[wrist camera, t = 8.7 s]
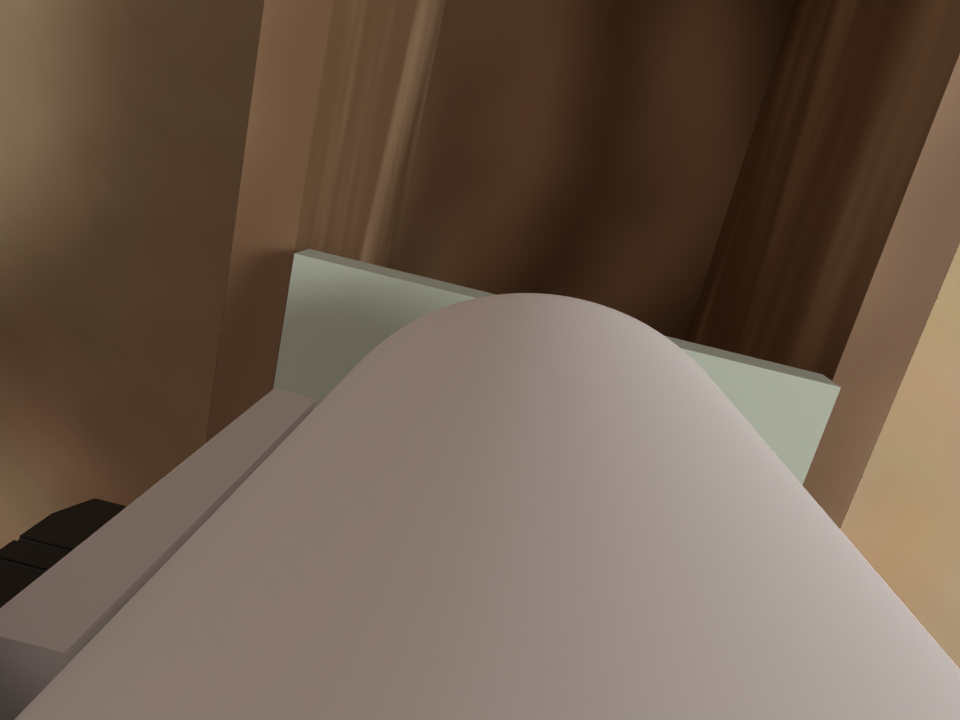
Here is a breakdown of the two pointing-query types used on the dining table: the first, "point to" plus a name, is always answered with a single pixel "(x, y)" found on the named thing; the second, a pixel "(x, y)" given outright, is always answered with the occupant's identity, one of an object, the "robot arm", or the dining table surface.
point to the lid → (406, 297)
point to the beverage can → (515, 554)
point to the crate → (618, 175)
